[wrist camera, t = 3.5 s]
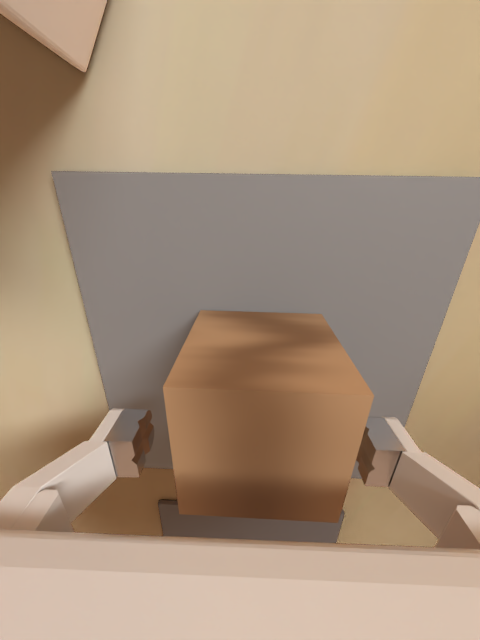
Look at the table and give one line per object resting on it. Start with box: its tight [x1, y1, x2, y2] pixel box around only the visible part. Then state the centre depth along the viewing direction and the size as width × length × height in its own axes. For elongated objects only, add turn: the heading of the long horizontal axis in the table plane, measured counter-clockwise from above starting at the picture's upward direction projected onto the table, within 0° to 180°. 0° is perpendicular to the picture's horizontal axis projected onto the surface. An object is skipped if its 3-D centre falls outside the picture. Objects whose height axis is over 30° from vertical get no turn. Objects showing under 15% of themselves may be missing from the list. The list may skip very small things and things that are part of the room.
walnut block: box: [163, 310, 374, 523], centre depth 11 cm, size 6×6×6 cm
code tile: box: [51, 171, 480, 479], centre depth 14 cm, size 18×18×1 cm
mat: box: [158, 500, 344, 543], centre depth 22 cm, size 14×14×1 cm
